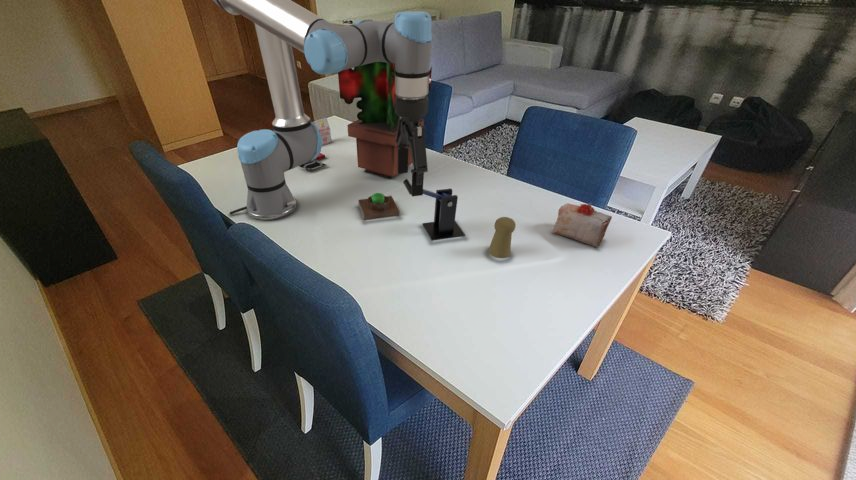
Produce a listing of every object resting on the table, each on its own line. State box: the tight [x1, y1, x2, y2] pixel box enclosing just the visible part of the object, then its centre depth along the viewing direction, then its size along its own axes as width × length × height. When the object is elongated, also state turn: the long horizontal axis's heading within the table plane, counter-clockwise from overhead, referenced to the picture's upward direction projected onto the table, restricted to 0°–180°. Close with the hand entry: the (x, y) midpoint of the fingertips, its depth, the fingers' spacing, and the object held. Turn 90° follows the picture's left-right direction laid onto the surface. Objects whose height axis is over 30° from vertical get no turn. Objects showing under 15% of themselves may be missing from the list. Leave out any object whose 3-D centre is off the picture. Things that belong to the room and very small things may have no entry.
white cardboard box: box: [312, 117, 333, 146], centre depth 164 cm, size 4×7×10 cm, turn 131°
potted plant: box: [337, 62, 433, 179], centre depth 132 cm, size 22×22×45 cm
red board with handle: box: [299, 152, 327, 172], centre depth 155 cm, size 30×3×15 cm
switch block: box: [357, 194, 400, 221], centre depth 121 cm, size 11×10×4 cm
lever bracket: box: [422, 188, 466, 242], centre depth 109 cm, size 10×9×13 cm
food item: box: [553, 202, 613, 248], centre depth 108 cm, size 14×8×10 cm, turn 51°
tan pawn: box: [487, 216, 517, 259], centre depth 101 cm, size 6×6×11 cm
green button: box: [371, 192, 385, 204], centre depth 119 cm, size 4×4×2 cm
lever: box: [402, 178, 451, 202], centre depth 103 cm, size 14×6×2 cm, turn 104°
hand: (409, 183), depth 100 cm, fingers open, 13 cm apart
